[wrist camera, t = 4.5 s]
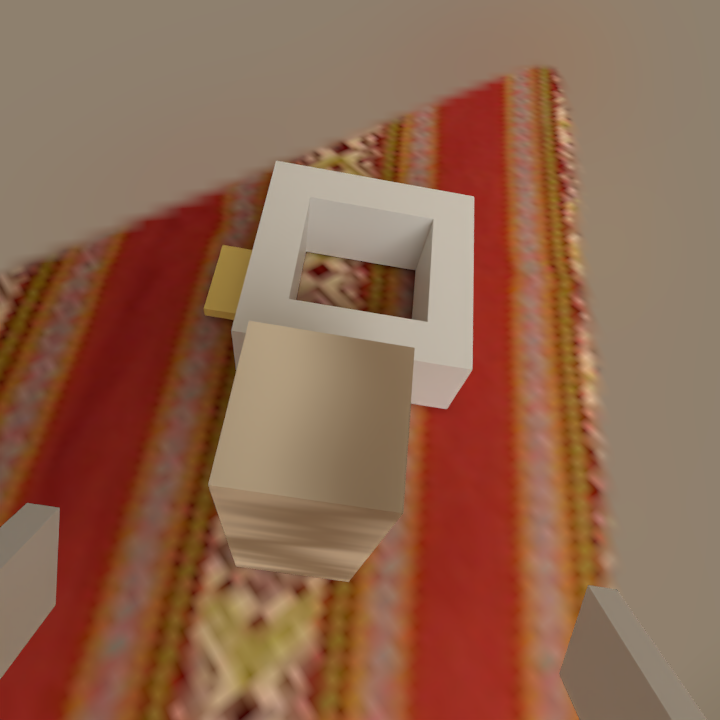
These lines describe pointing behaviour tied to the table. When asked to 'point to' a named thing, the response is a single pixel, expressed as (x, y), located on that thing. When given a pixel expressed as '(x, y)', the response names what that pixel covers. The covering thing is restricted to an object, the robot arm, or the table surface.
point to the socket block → (363, 243)
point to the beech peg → (312, 450)
